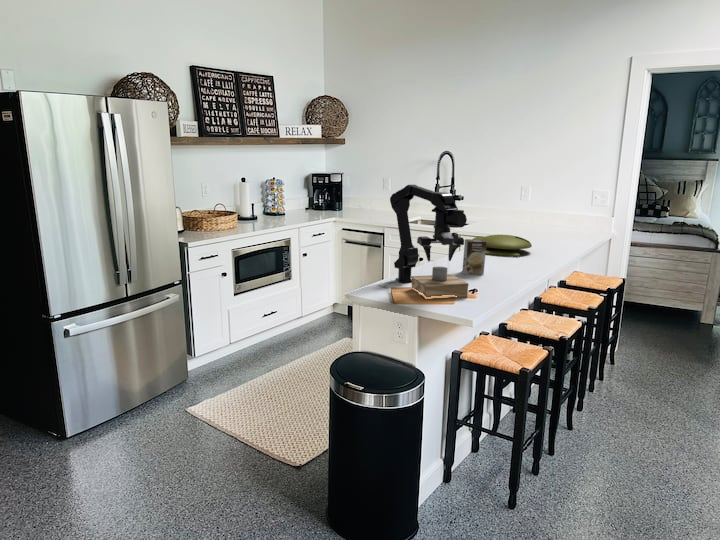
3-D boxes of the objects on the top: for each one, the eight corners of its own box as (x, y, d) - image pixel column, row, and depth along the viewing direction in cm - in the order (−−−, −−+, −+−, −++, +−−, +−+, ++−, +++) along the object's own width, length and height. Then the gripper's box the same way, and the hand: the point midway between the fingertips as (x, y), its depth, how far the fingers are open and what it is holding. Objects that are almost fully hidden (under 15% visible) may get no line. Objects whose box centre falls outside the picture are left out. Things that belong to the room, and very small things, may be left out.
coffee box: (465, 274, 252) (467, 241, 248) (462, 271, 258) (464, 239, 255) (484, 274, 252) (486, 241, 249) (480, 271, 259) (483, 239, 255)
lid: (411, 277, 223) (411, 276, 223) (451, 275, 228) (451, 274, 228) (425, 287, 208) (426, 285, 208) (468, 285, 213) (468, 283, 213)
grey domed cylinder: (429, 279, 219) (429, 267, 218) (440, 277, 222) (441, 266, 221) (438, 282, 214) (438, 270, 213) (449, 280, 217) (450, 268, 216)
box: (411, 289, 224) (411, 277, 223) (450, 287, 229) (451, 275, 228) (425, 299, 209) (426, 287, 208) (467, 297, 214) (468, 285, 213)
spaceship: (467, 254, 302) (468, 237, 300) (472, 245, 331) (473, 229, 329) (531, 259, 293) (532, 241, 290) (530, 249, 321) (532, 233, 319)
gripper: (427, 227, 207) (425, 266, 211) (471, 227, 211) (468, 265, 215) (417, 222, 217) (415, 259, 221) (459, 222, 222) (457, 258, 226)
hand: (439, 261), depth 220 cm, fingers open, 9 cm apart
